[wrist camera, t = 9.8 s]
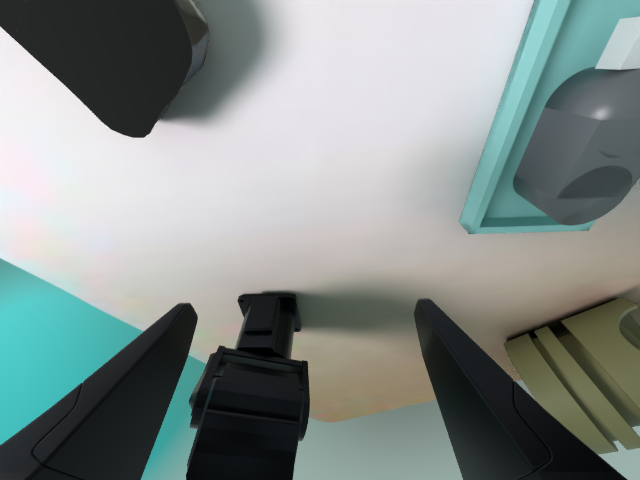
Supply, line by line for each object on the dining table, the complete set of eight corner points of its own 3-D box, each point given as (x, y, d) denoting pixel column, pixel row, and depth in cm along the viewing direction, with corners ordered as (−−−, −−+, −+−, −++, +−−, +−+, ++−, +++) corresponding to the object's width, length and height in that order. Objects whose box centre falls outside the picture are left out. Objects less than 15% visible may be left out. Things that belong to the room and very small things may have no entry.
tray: (570, 218, 21) (588, 230, 19) (459, 221, 21) (468, 233, 20) (745, -52, 12) (804, -67, 10) (546, -37, 12) (576, -49, 11)
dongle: (557, 196, 19) (603, 224, 16) (504, 198, 19) (539, 226, 16) (660, 17, 13) (770, 4, 10) (580, 23, 13) (662, 12, 10)
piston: (631, 325, 30) (766, 443, 21) (526, 360, 35) (596, 467, 26) (607, 279, 25) (765, 403, 16) (490, 328, 30) (560, 442, 21)
